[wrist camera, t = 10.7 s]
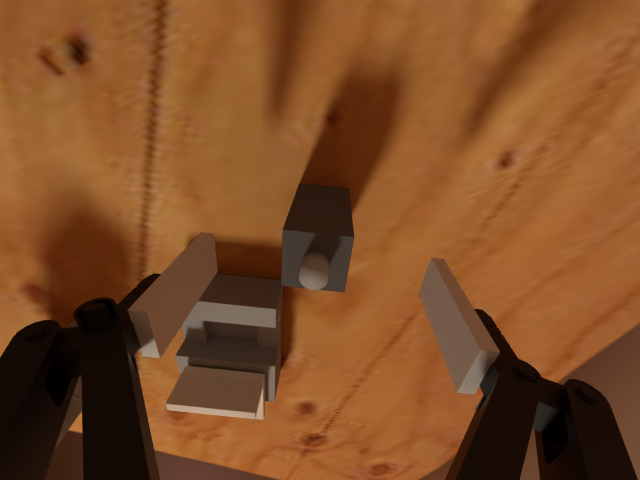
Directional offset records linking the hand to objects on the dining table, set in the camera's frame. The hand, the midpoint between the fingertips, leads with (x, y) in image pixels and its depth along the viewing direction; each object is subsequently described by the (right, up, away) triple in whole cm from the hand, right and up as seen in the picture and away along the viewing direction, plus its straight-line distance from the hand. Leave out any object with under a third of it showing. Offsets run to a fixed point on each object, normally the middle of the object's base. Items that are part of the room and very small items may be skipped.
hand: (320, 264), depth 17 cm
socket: (-9, -8, +14) cm, 18 cm away
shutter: (-10, -15, +13) cm, 22 cm away
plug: (0, +4, +6) cm, 8 cm away
